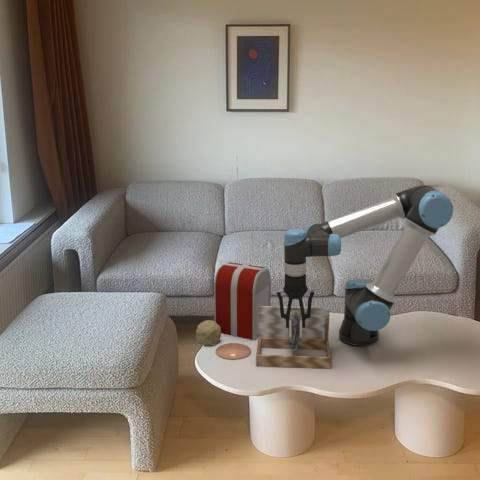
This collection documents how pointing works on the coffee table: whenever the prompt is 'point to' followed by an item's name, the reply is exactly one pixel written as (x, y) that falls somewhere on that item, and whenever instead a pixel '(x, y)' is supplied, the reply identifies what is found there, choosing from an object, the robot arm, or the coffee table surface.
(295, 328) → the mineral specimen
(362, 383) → the coffee table surface
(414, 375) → the coffee table surface
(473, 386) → the coffee table surface
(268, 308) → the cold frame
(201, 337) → the decorative object
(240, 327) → the red striped box
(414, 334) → the coffee table surface
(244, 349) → the peach round smooth part
